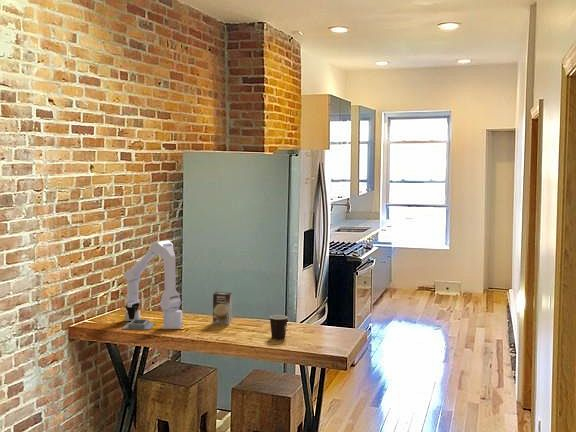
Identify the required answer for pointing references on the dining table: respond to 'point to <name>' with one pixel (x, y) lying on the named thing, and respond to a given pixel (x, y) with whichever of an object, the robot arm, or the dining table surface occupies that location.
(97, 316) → the dining table surface
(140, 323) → the slot holder
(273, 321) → the coffee mug
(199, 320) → the dining table surface
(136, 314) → the steel block
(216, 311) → the coffee box
